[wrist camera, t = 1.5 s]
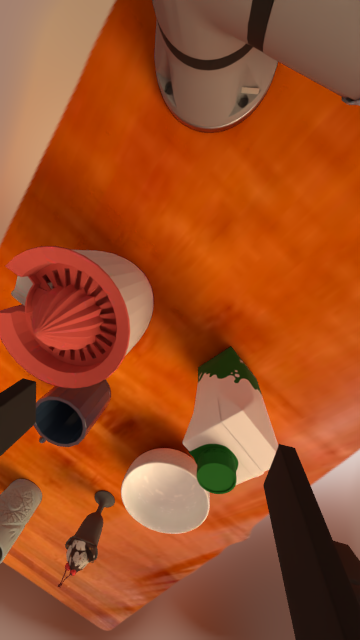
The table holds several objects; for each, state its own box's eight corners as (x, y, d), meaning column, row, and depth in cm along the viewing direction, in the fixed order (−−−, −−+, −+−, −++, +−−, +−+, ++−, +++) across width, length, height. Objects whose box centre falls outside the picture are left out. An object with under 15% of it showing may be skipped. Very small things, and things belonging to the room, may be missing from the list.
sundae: (89, 503, 56) (46, 587, 42) (94, 483, 54) (51, 566, 40) (114, 513, 56) (79, 602, 42) (121, 494, 54) (87, 581, 40)
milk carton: (191, 366, 43) (170, 457, 24) (232, 338, 40) (247, 416, 21) (220, 401, 44) (222, 516, 25) (262, 377, 41) (302, 484, 22)
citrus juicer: (87, 226, 38) (-39, 199, 19) (180, 277, 38) (145, 301, 19) (58, 307, 43) (-65, 350, 24) (141, 353, 43) (82, 431, 24)
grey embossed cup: (17, 506, 61) (-29, 565, 49) (1, 475, 58) (-51, 530, 47) (50, 506, 59) (11, 567, 47) (36, 474, 56) (-10, 530, 45)
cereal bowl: (210, 503, 51) (209, 541, 44) (136, 493, 53) (124, 527, 46) (211, 438, 46) (210, 469, 39) (130, 430, 49) (116, 459, 42)
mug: (83, 359, 46) (50, 385, 37) (120, 391, 46) (97, 425, 37) (49, 399, 49) (11, 431, 40) (83, 428, 50) (54, 466, 41)
